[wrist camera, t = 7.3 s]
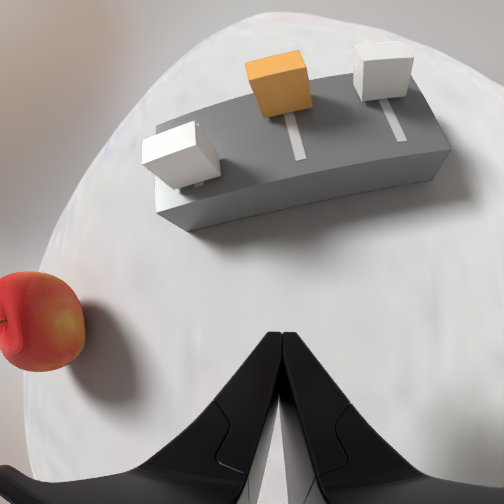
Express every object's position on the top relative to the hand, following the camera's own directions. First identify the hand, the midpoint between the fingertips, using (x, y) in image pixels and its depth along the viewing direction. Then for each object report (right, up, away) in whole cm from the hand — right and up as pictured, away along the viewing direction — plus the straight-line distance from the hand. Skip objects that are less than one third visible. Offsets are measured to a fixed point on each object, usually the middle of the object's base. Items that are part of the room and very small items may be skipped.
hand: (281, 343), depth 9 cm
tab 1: (-5, +8, +11) cm, 15 cm away
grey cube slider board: (+3, +10, +15) cm, 19 cm away
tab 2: (+1, +13, +11) cm, 17 cm away
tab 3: (+8, +14, +9) cm, 19 cm away
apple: (-19, -5, +18) cm, 27 cm away
